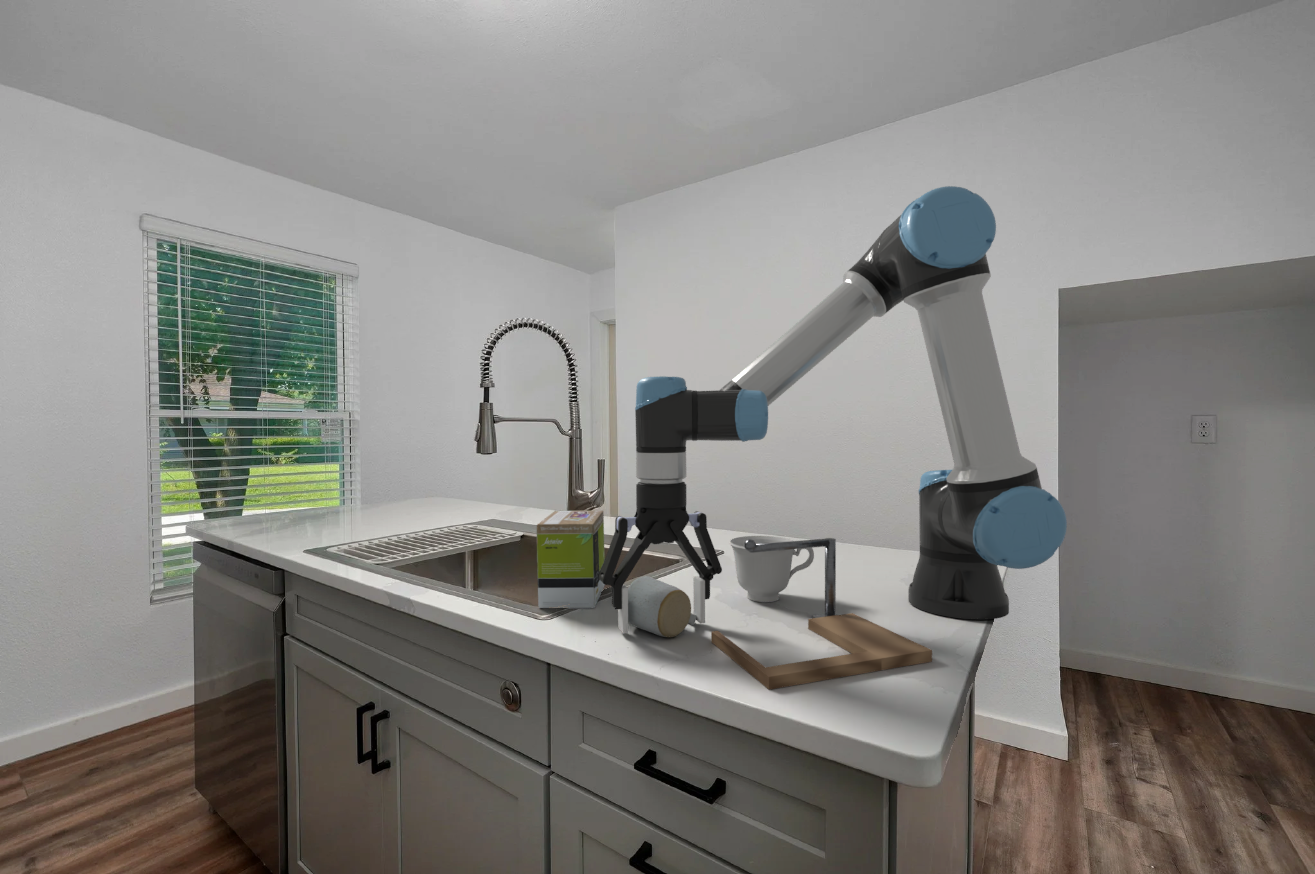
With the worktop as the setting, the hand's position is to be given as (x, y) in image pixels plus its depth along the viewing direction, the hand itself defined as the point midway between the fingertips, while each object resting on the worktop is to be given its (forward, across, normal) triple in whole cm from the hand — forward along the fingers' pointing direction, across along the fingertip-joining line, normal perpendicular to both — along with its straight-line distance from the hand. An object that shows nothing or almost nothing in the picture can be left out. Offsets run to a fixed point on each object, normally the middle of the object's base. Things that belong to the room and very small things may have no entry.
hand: (662, 625), depth 88 cm
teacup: (+1, -24, -9) cm, 26 cm away
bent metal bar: (+1, -19, +5) cm, 20 cm away
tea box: (+1, +9, -22) cm, 24 cm away
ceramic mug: (+1, 0, 0) cm, 1 cm away
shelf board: (+1, -17, +15) cm, 23 cm away
